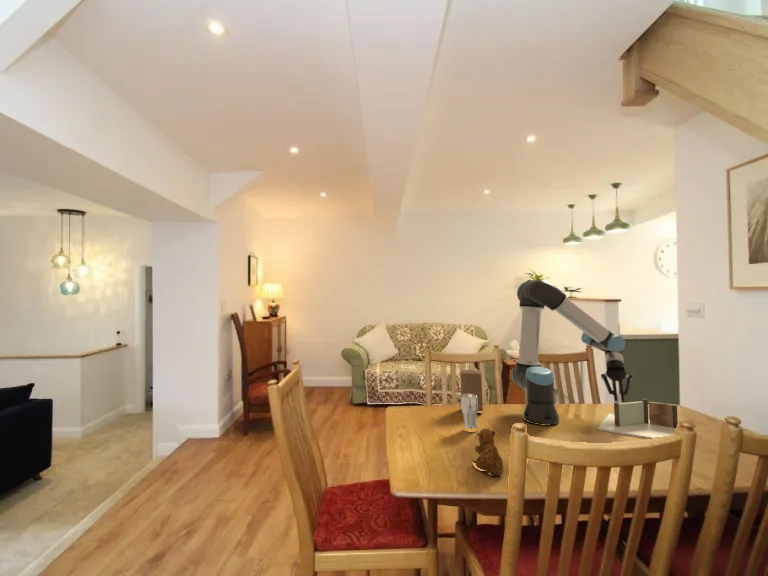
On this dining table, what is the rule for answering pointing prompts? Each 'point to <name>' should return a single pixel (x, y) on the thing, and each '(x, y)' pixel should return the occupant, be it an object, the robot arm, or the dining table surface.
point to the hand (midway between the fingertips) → (620, 407)
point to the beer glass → (469, 410)
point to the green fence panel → (628, 413)
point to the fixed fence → (660, 414)
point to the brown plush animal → (488, 453)
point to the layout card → (636, 428)
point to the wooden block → (472, 385)
